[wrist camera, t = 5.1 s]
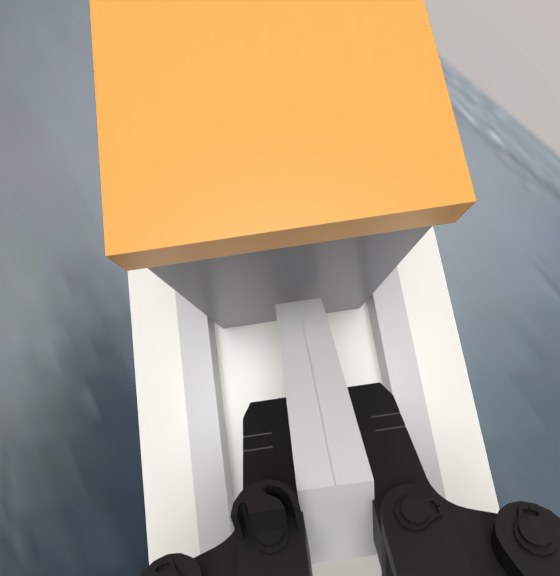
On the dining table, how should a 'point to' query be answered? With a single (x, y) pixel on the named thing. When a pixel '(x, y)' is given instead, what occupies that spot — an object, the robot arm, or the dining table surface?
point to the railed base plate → (270, 385)
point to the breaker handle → (272, 147)
